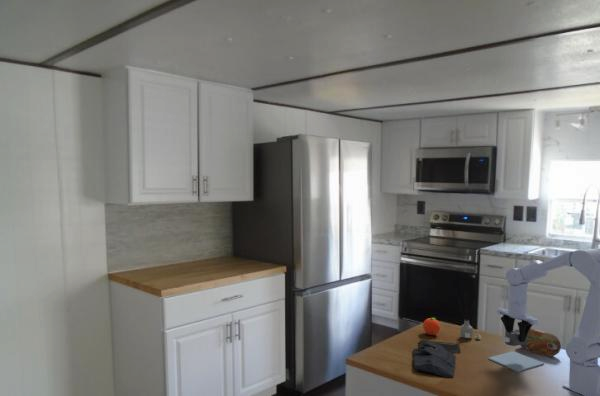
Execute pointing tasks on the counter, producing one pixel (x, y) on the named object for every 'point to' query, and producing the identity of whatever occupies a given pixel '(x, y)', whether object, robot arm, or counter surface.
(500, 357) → the rubber mat
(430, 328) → the clementine
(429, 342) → the dark slate chunk
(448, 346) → the phone
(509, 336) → the connector
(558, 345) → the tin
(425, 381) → the counter surface
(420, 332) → the counter surface
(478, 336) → the reed diffuser
